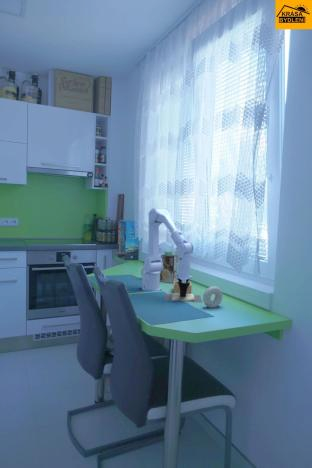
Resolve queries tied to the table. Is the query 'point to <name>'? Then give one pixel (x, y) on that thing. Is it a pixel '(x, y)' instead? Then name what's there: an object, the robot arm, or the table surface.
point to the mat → (169, 297)
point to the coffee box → (169, 268)
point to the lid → (178, 297)
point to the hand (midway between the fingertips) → (182, 294)
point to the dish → (177, 288)
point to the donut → (216, 300)
